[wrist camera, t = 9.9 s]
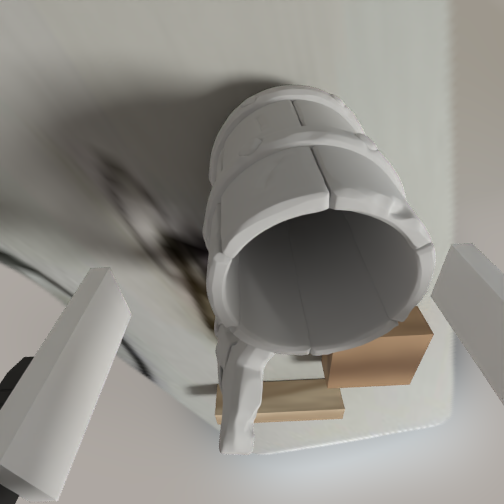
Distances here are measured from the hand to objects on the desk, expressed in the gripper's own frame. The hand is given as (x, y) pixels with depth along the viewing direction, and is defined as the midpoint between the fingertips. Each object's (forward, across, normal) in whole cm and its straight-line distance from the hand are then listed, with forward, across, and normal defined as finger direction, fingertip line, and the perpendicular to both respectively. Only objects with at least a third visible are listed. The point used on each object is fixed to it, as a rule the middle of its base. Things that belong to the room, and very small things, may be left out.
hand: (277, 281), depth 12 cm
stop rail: (+7, 0, -21) cm, 23 cm away
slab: (+8, +8, -14) cm, 18 cm away
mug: (+7, 0, +1) cm, 7 cm away
